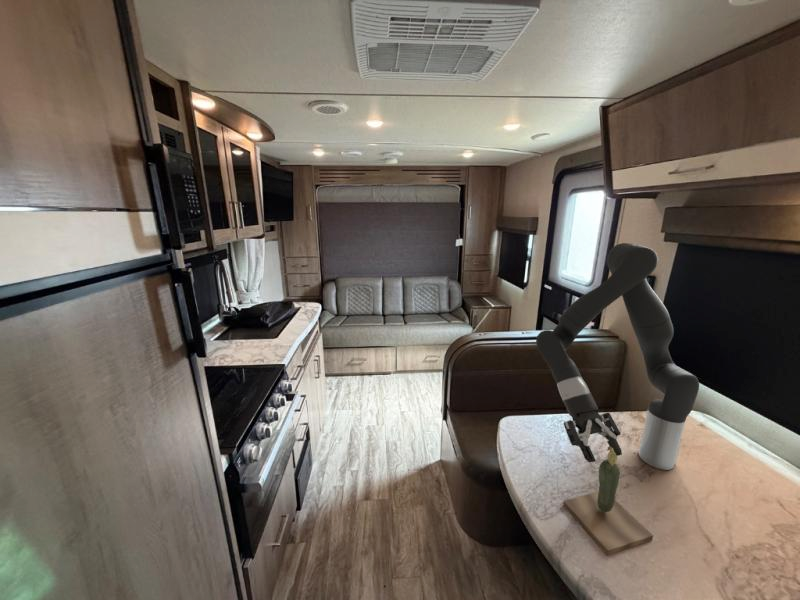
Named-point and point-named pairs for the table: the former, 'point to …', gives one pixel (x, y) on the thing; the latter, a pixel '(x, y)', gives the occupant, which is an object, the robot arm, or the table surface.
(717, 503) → the table surface
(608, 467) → the vegetable
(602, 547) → the cutting board
